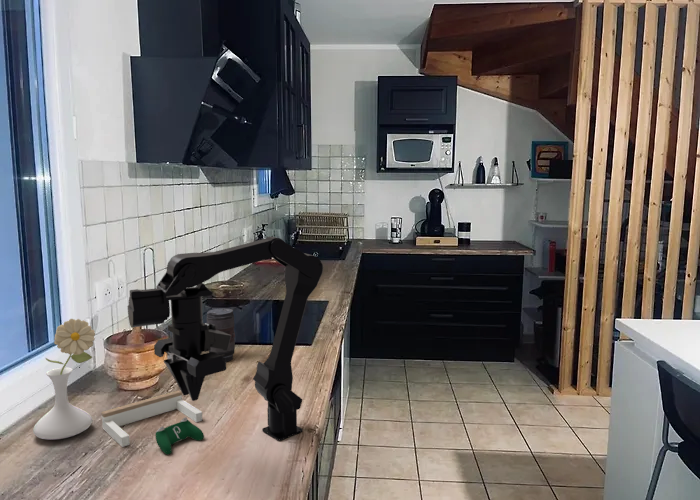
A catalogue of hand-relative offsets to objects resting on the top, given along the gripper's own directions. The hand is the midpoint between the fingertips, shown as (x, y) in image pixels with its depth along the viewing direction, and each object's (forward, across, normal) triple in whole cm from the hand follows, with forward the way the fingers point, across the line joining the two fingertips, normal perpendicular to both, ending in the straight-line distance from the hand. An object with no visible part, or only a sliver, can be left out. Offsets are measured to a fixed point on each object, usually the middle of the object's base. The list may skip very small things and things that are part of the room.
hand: (190, 397), depth 106 cm
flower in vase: (+12, +28, +15) cm, 34 cm away
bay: (+12, +18, 0) cm, 22 cm away
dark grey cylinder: (+12, +48, -34) cm, 60 cm away
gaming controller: (+12, +7, 0) cm, 14 cm away
